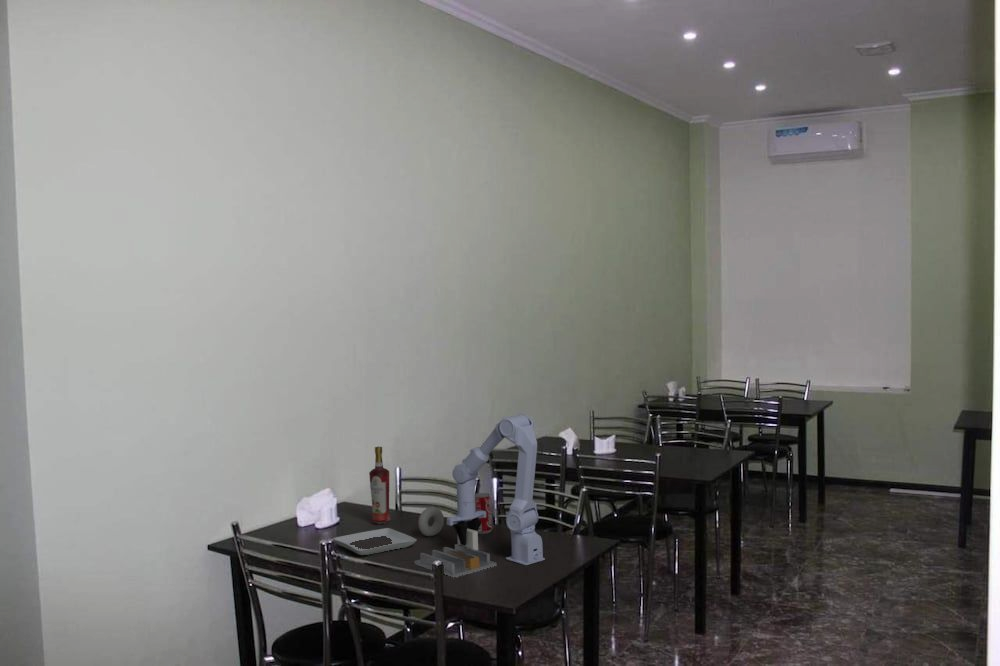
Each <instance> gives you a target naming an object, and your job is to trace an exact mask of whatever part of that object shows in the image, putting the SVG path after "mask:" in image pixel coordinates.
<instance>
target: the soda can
mask: <svg viewBox="0 0 1000 666" xmlns="http://www.w3.org/2000/svg"><path fill="white" fill-rule="evenodd" d="M492 507H493V506H492V498H491V496H490V493H486V492H479V493H475V511H476V512H477V511H486V517H485V518H479V520H481V525H480V527H479V529H478V535H485V534H486V535H487V534H490V533H491V532H492V531H493V511H492Z"/></svg>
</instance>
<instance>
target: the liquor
mask: <svg viewBox="0 0 1000 666" xmlns="http://www.w3.org/2000/svg"><path fill="white" fill-rule="evenodd" d="M374 454H375V462H374V464H375V465H374V468H373V469H371V470H370V471H369V473H368V474H369V482H370V485H369V486H370V487H369V488H370V495H371V507H372V519H371V521H372V522H373V521H375V522H386V521H389V520H390V521H391V517H390V470H388V469H387V468H385V467H384V463H383V446H375V447H374ZM390 521H389V522H390Z"/></svg>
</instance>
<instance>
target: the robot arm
mask: <svg viewBox="0 0 1000 666" xmlns="http://www.w3.org/2000/svg"><path fill="white" fill-rule="evenodd" d="M504 439H507V440H508V441H509V442H511V443H512V444H514V445H515V446H516V448H518V458H517V468H516V478H515V491H514V499H513V501H512V503H511V504H510V506H509V511H508V514H507V515H506V518H505V523H506V527H507V528H508V529H509V530H510V531H509V532H510V539H511V555H510V556H507V557H505V559H506V560H507V561H510V562H515V563H518V564H520V565H524V566H529V565H532V564H535V563H538V562H542V561H545V560H546V558H545V557H543V556H544V555H543V554H544V552H543V550H544V549H543V548H544V547H543V538H542V536H541V535H539V534H538V533H537V532H536V530H535V529H536V524H538V521H539V513H538V510H537V503H536V501H534V500H533V498H534V497H533V496H534V487H535V476H536V475H535V474H536V466H537V465H536V464H537V454H538V452H537V451H538V441H537V438H536V434H535V432H534V422H533V420H532V419H531V418H530V417H529V416H528V415H527V414H525V413H519V414H516V415H512V416H506V417H503V418H502V419H501V420H500V421H499V422H498V423H497V424H496V425H495V427H494V429H493V430H492V431H491V433H490V434H489V435H488V436H487V438H486V439H485V440H484V442H483V443H482V444H481V446H476V447H473V448H470V450H469V454H468V455H467V456H466V457H465V458H463V459H462V460H461V464H456V465H455V466H454V468H453V469H452V477H453V480H454V481H455V482H456V483H455V484H456V503H457V504H456V506H457V513H456V514H455V515H453V516H451V517H449V518H446V525H447V526H451V527H452V526H453V527H452V528H454V530H455V532H456V535H457V534H458V537H459V540H460V544H461V545H464V546H465V545H466V533H467V528H468V529H471V530H475V531H478V529H479V527H480V525H481V520H479V518H485V517H486V511H477V512H476V511H475V494H476V493H475V492H476V490H475V489H476V488H475V487H476V486H475V484H476V479H477V478H478V475H479V472H480V470H481V469H482V468H484V467H483V466H485V465H486V463H487V462H488V461H489V459H490V454H491V452H492V451H493V450H494V449H495V448H496V447H497V446H498V445H499V444H500V443H502V441H503V440H504ZM465 522H466V524H465Z"/></svg>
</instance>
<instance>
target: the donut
mask: <svg viewBox="0 0 1000 666" xmlns="http://www.w3.org/2000/svg"><path fill="white" fill-rule="evenodd" d="M431 518H433V523H432V525H429V521H430V519H431ZM444 521H445V517H444V513H443V512H442V511H441V509H439V507H438V508H437V507H436V506H429V507H426V508H425V509H424V510H423V511H422V512H421V513H420V515H419V518H418V521H417V522H418V523H417V524H418V529H419V531H420V533H421V534H422V535H424V536H425V537H426V536H427V537H434V536H436V535H438V534H439V533H440V532H441V530H442V529H443V527H444V524H445V522H444Z"/></svg>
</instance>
